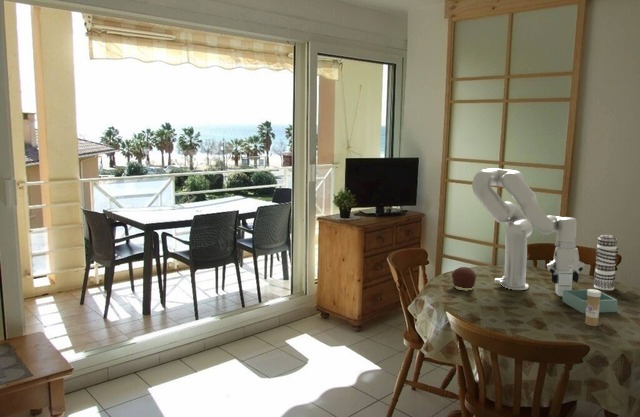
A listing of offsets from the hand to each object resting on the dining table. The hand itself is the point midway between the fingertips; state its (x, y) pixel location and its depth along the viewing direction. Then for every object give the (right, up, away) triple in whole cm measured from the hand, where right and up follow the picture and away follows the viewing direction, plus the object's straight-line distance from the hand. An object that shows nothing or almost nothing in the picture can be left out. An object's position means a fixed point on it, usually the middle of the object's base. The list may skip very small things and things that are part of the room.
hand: (564, 282), depth 226 cm
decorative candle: (+24, -4, +11) cm, 27 cm away
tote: (+3, -8, -14) cm, 17 cm away
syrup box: (0, -6, +1) cm, 6 cm away
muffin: (-42, -5, +12) cm, 44 cm away
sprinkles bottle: (-6, -11, -34) cm, 36 cm away
